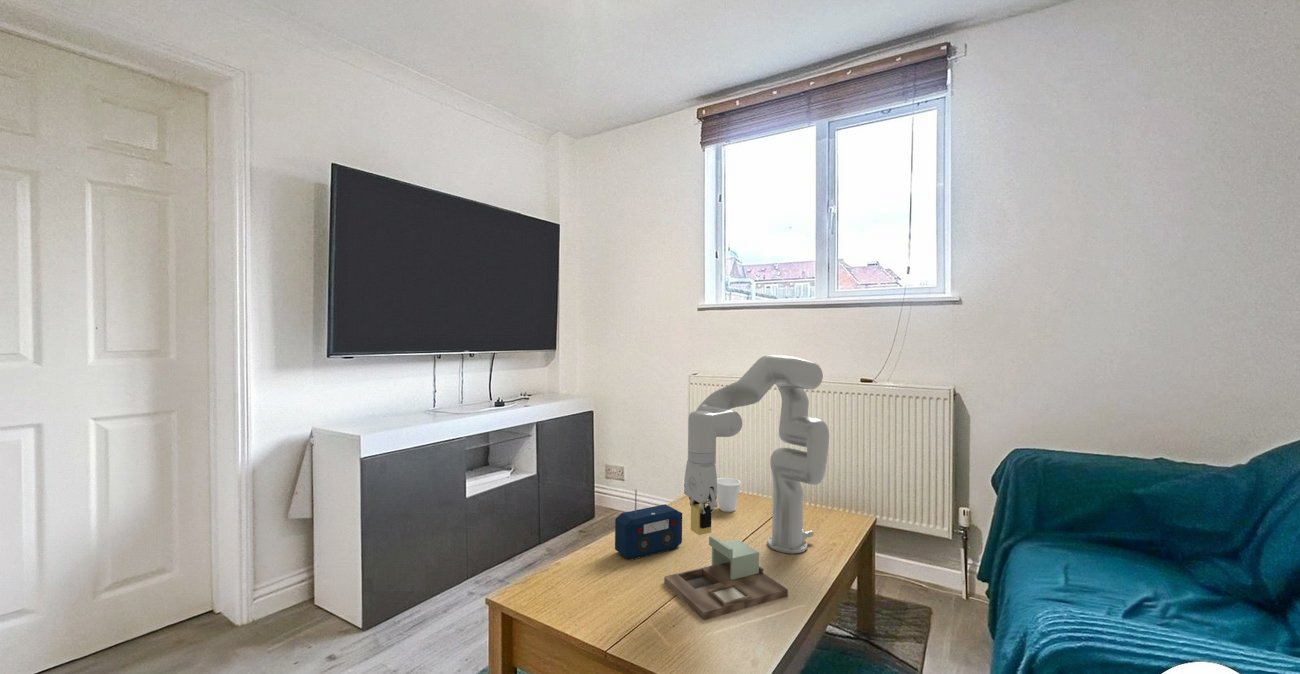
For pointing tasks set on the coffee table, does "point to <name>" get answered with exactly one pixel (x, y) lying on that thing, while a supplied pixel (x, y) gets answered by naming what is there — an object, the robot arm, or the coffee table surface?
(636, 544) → the radio
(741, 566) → the cover
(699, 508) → the block
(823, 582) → the coffee table surface
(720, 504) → the cup
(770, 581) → the puzzle board
